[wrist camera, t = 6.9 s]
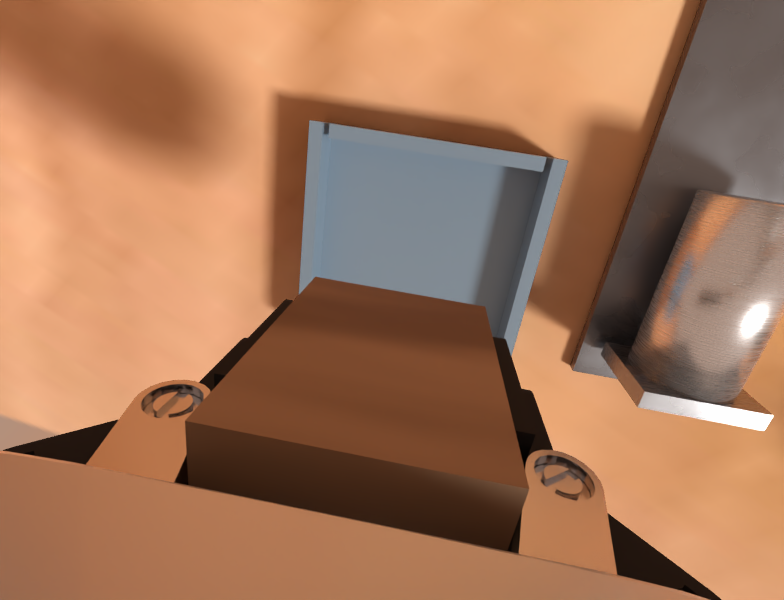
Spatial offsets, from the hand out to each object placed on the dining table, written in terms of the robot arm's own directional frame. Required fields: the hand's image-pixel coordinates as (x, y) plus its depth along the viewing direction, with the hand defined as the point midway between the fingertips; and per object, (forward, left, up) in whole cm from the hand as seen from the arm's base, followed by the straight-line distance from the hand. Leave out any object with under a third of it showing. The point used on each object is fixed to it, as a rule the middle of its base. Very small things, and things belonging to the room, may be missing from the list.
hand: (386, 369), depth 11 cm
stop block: (0, 0, 0) cm, 0 cm away
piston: (-2, +13, -12) cm, 18 cm away
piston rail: (-5, +13, -12) cm, 18 cm away
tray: (0, 0, -12) cm, 12 cm away
